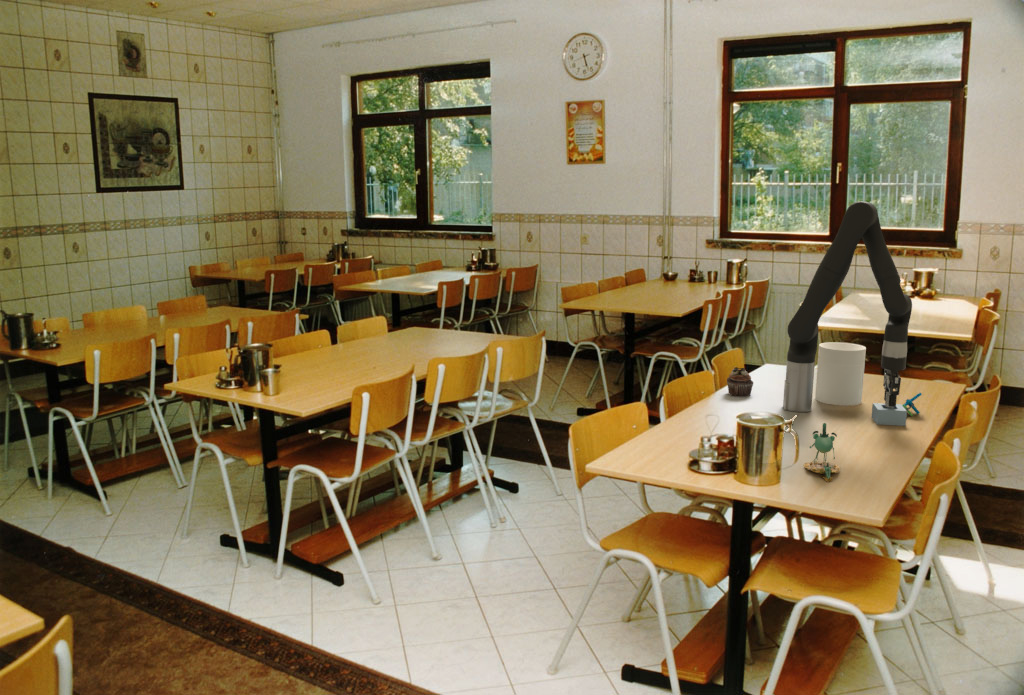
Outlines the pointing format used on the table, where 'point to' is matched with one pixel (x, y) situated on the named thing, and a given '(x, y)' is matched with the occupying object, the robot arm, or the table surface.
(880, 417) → the socket block
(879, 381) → the table surface
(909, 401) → the teal lobed toy
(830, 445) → the frog figurine
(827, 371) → the canister
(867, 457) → the table surface
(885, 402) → the pin
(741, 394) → the cupcake
